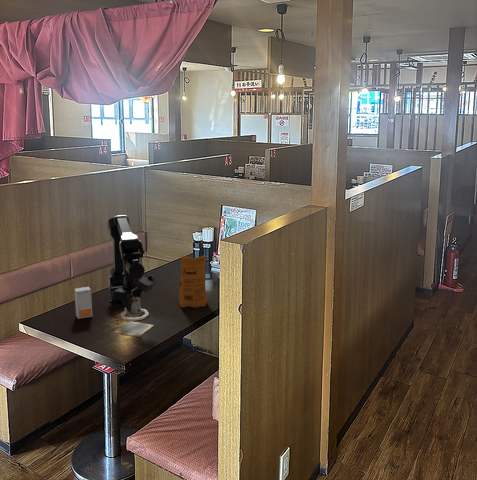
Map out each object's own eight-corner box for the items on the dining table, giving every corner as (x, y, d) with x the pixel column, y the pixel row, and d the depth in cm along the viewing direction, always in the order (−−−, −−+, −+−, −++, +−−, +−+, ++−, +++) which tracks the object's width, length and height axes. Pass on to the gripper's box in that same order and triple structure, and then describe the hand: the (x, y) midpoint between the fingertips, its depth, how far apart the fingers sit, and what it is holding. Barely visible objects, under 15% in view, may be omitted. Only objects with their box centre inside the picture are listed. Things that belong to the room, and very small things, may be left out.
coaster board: (114, 332, 197) (114, 331, 197) (129, 321, 207) (129, 320, 207) (139, 337, 193) (139, 336, 193) (153, 325, 203) (153, 324, 203)
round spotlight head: (138, 315, 194) (137, 301, 193) (121, 312, 197) (120, 298, 195) (145, 310, 199) (145, 296, 198) (129, 307, 202) (128, 293, 200)
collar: (116, 318, 210) (116, 316, 210) (130, 308, 220) (130, 307, 220) (139, 322, 206) (139, 320, 206) (152, 312, 216) (152, 310, 216)
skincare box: (78, 319, 209) (75, 291, 206) (76, 315, 213) (73, 288, 209) (93, 316, 212) (91, 289, 209) (90, 313, 215) (89, 286, 212)
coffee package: (180, 299, 231) (178, 253, 225) (207, 299, 231) (207, 253, 225) (177, 308, 221) (176, 259, 215) (206, 308, 221) (206, 259, 216)
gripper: (137, 280, 183) (139, 321, 187) (162, 265, 200) (163, 302, 204) (110, 276, 186) (112, 316, 190) (137, 262, 203) (138, 299, 207)
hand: (133, 308), depth 198 cm, fingers closed on round spotlight head, 6 cm apart
